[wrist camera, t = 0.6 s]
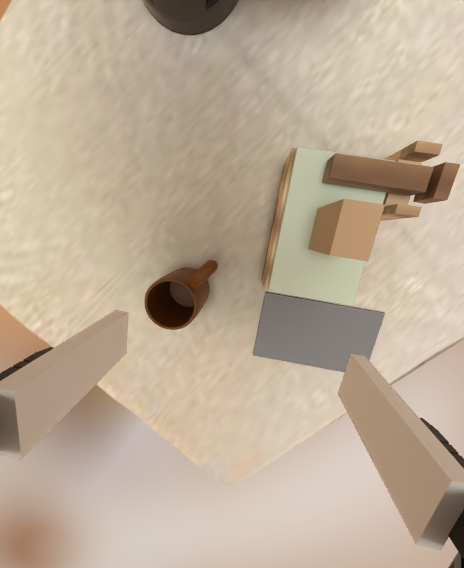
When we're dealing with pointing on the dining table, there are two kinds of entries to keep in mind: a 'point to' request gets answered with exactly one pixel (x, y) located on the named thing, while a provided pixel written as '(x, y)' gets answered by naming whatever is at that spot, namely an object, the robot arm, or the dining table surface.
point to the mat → (315, 331)
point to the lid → (323, 233)
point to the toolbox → (393, 203)
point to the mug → (178, 296)
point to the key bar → (392, 177)
